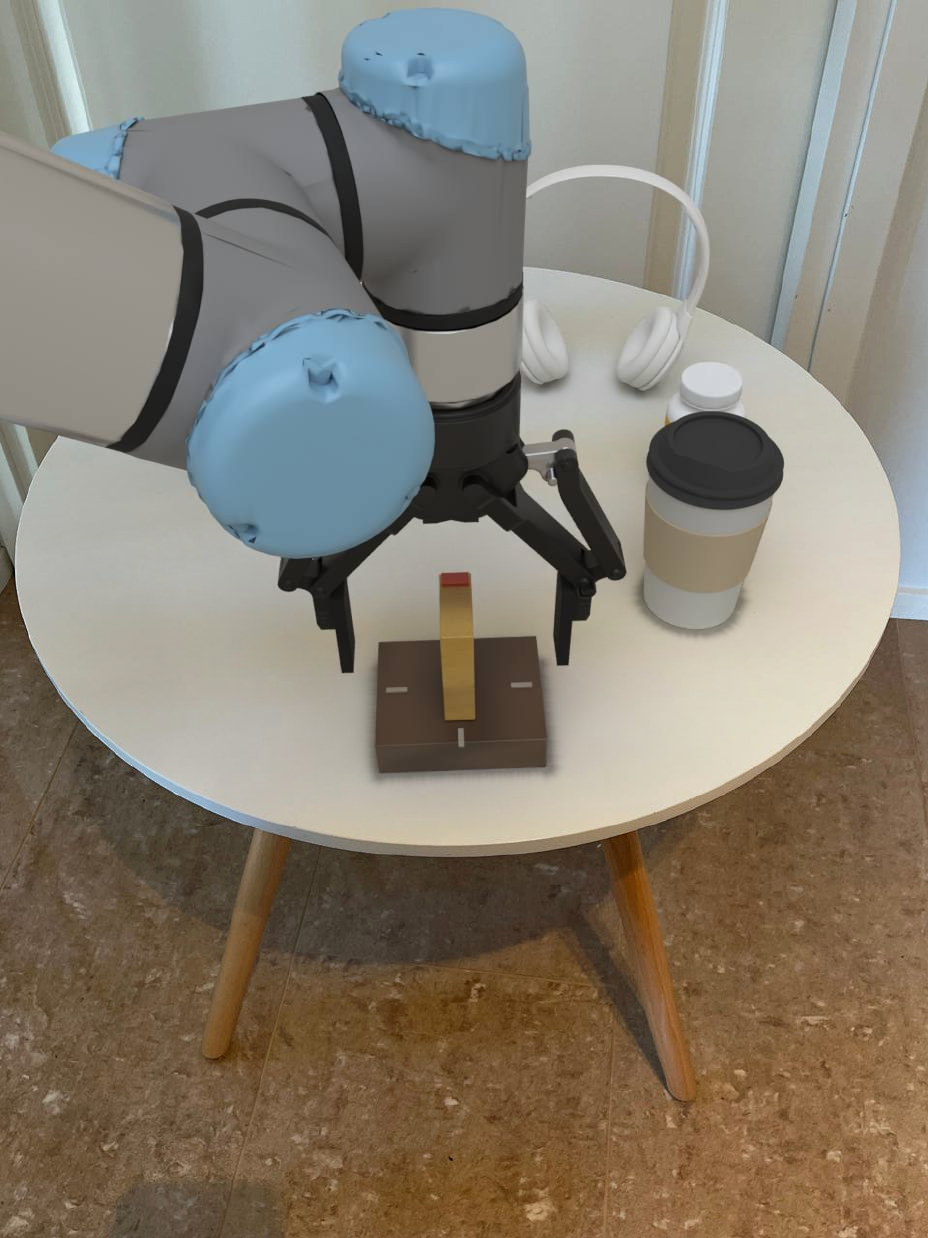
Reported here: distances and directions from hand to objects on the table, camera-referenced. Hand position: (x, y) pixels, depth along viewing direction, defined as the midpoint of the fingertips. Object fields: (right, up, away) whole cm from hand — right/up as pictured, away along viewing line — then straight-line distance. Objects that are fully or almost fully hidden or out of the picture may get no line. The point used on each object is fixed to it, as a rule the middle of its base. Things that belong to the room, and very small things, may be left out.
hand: (454, 654), depth 68 cm
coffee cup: (+18, +4, +12) cm, 22 cm away
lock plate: (0, -4, +5) cm, 7 cm away
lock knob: (0, -2, +3) cm, 3 cm away
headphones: (+13, +25, +32) cm, 42 cm away
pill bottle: (+20, +13, +21) cm, 31 cm away
